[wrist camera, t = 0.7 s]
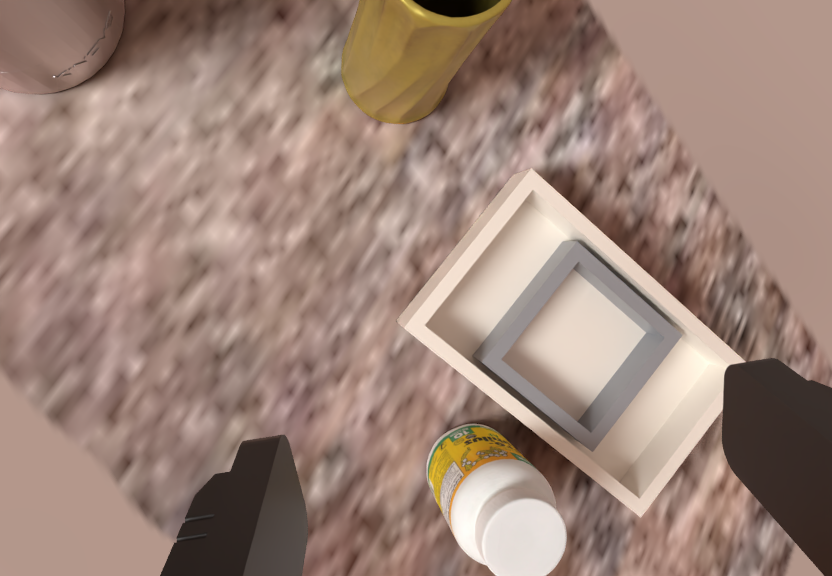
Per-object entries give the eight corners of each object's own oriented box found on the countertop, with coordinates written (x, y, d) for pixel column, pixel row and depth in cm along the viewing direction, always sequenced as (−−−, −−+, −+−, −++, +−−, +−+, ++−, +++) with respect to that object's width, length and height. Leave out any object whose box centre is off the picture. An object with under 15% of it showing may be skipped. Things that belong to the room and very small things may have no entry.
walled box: (396, 321, 35) (403, 328, 32) (513, 174, 35) (531, 168, 33) (615, 496, 38) (640, 517, 35) (719, 359, 39) (753, 368, 36)
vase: (325, 30, 33) (335, -128, 19) (429, 1, 34) (511, -172, 20) (361, 138, 34) (396, 62, 20) (462, 107, 35) (564, 12, 21)
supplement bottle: (413, 495, 36) (449, 585, 26) (441, 410, 36) (488, 469, 26) (495, 517, 37) (559, 611, 27) (523, 434, 37) (596, 499, 27)
